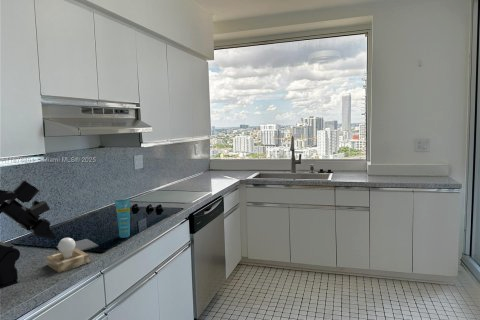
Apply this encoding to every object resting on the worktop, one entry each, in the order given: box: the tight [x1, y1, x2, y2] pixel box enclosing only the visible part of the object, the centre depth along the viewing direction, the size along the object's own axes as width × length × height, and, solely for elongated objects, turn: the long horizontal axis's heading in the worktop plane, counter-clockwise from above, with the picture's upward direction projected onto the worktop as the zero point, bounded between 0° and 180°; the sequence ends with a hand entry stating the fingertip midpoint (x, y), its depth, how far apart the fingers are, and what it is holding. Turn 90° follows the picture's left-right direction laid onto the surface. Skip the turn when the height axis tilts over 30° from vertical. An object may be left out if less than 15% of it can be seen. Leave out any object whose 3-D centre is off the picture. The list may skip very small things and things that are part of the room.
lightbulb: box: [57, 237, 75, 260], centre depth 141 cm, size 6×6×11 cm
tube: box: [114, 198, 131, 239], centre depth 174 cm, size 7×5×19 cm, turn 119°
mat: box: [55, 238, 99, 252], centre depth 161 cm, size 14×14×1 cm
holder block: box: [46, 248, 90, 274], centre depth 141 cm, size 12×12×4 cm
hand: (51, 235), depth 136 cm, fingers open, 9 cm apart
